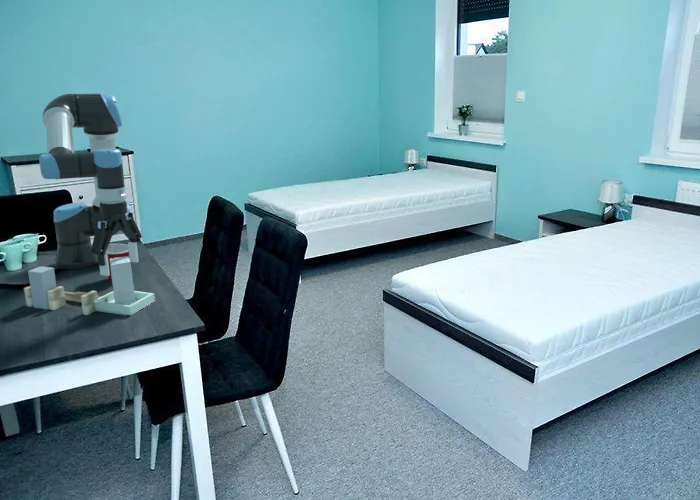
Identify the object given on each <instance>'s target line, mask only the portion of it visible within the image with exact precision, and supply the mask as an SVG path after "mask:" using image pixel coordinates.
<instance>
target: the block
mask: <svg viewBox="0 0 700 500" xmlns="http://www.w3.org/2000/svg"><path fill="white" fill-rule="evenodd" d="M27 272H28V273H27V274H28V278H29V279H28V280H29V284H30V285H29V286H30V287H31V293H32V299H33V308H35V309H43V310H49V309H50V307H49V300H48V294H47V291H50V290H52V289H54V288H57V287H58V286H57V281H56V280H57V279H56V274H55V268H54V267H50V266H49V267H48V266H38V267H35V268H33V269H30V270H28V271H27Z"/></svg>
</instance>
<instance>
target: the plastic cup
mask: <svg viewBox="0 0 700 500" xmlns="http://www.w3.org/2000/svg"><path fill="white" fill-rule="evenodd" d="M101 251H102V250H101ZM105 254H107V255H108V264H109V272H110V275H109V276H107V278H108V279H109V280H108V281H110V282H112V277H111V267H110V259H111V258H118V257H125V256H128V257H130V256H129V247H128V244H124V243H109V245H108V248H107V250H106V253H105Z"/></svg>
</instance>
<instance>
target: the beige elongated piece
mask: <svg viewBox="0 0 700 500" xmlns="http://www.w3.org/2000/svg"><path fill="white" fill-rule="evenodd" d="M23 292H24V297H25V298H24V299H25V303H26V307H30V308H32V307H34V305H33V299H32V293H31V287H30V285H29V286H26V287H23ZM47 294H48V300H49V307H50V308H49V310H51V311H55V310H57V309H59V308H61V307H64V306H66V305H67V301H68V302H69V301H70V302H76V303H81V308H82V315H84V316H88V315H91V314H92V313H94V312H96V311H95V304H94V302H95V301H98V298H100V297H102V295H101V296H100V294H99V293H98V292H97V290H91V291H88V292H85V291H84V292H83V291H76V292H72V291H71V292H70V291H65V288H64V286H61V285H58V286H57V288H54V289H52V290H50V291H47ZM105 302H108V298H107V297H106V298H105Z"/></svg>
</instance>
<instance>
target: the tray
mask: <svg viewBox="0 0 700 500" xmlns="http://www.w3.org/2000/svg"><path fill="white" fill-rule="evenodd" d="M134 294H135V301H136V302H135V303H133V304H131V305H123V304H116V303H115V298H114V292H113V290H112V291H111V292H108V293H106V294H104V295H101V297H100V298H98V301H95V302H94V304H95V311H94V312H101V313H107V314H114V315H121V316H127V315H129V316H128V317H132V316H134V315H135V313H136V312H137V313H138V311H139V310H141V309H143V308H144V309H146V308H147V307H146V306H148V305H149V306H151V305H152V304H151V303H153V302H155V303H156V296H155V292H154V293H152V292H145V291H139V290H134ZM106 297H107V298H108V302H105V298H106ZM150 304H151V305H150ZM153 304H154V303H153ZM149 306H148V307H149ZM145 307H146V308H145ZM144 309H143V310H144ZM141 311H142V310H141ZM139 312H140V311H139ZM137 313H136V314H137ZM133 314H134V315H133ZM131 315H132V316H131Z"/></svg>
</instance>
